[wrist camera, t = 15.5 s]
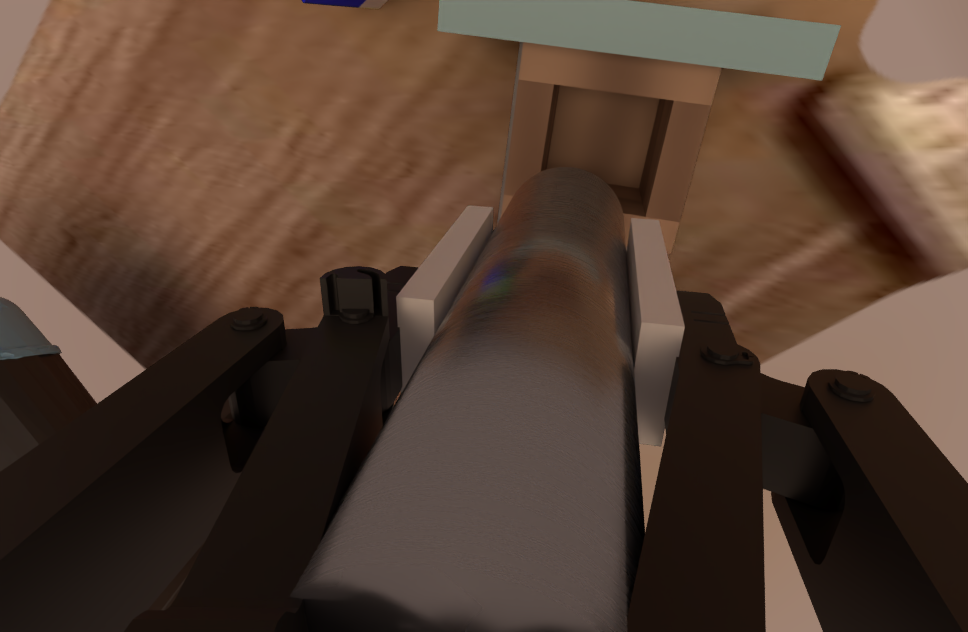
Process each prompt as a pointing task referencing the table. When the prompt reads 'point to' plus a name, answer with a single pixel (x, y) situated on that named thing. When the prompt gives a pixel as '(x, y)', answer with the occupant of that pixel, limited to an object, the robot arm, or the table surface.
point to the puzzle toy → (350, 3)
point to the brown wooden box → (612, 126)
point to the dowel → (505, 445)
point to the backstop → (647, 35)
